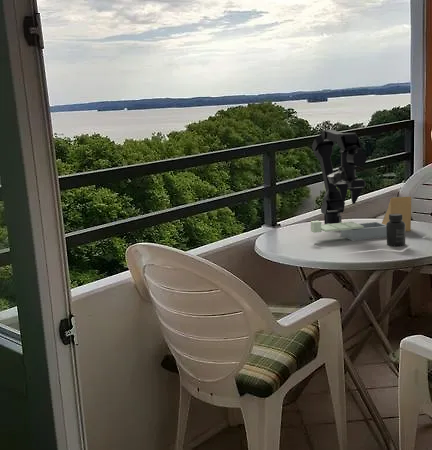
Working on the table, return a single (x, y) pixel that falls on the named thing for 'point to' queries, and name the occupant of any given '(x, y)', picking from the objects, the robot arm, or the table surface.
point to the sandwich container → (400, 210)
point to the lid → (333, 226)
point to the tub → (366, 231)
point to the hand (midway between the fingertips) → (348, 202)
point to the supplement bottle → (395, 231)
